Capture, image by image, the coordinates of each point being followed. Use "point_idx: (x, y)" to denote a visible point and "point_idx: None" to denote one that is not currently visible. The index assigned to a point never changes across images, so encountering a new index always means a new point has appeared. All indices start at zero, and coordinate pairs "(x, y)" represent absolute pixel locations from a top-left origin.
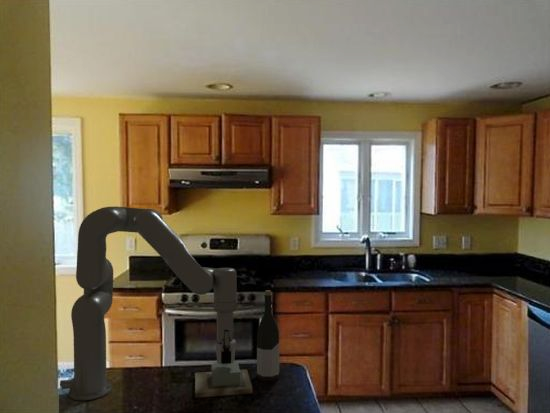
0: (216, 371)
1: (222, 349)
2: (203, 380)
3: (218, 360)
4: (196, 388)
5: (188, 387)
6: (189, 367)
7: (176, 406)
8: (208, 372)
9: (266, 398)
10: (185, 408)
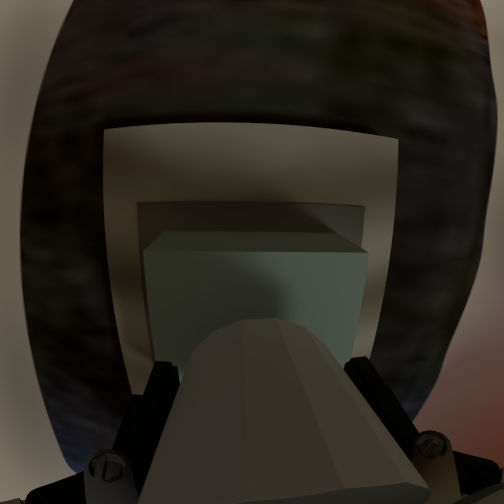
0: (193, 285)
1: (83, 475)
2: (274, 177)
3: (216, 344)
4: (159, 132)
5: (255, 91)
6: (483, 137)
7: (59, 64)
8: (386, 217)
9: (102, 418)
10: (35, 106)
